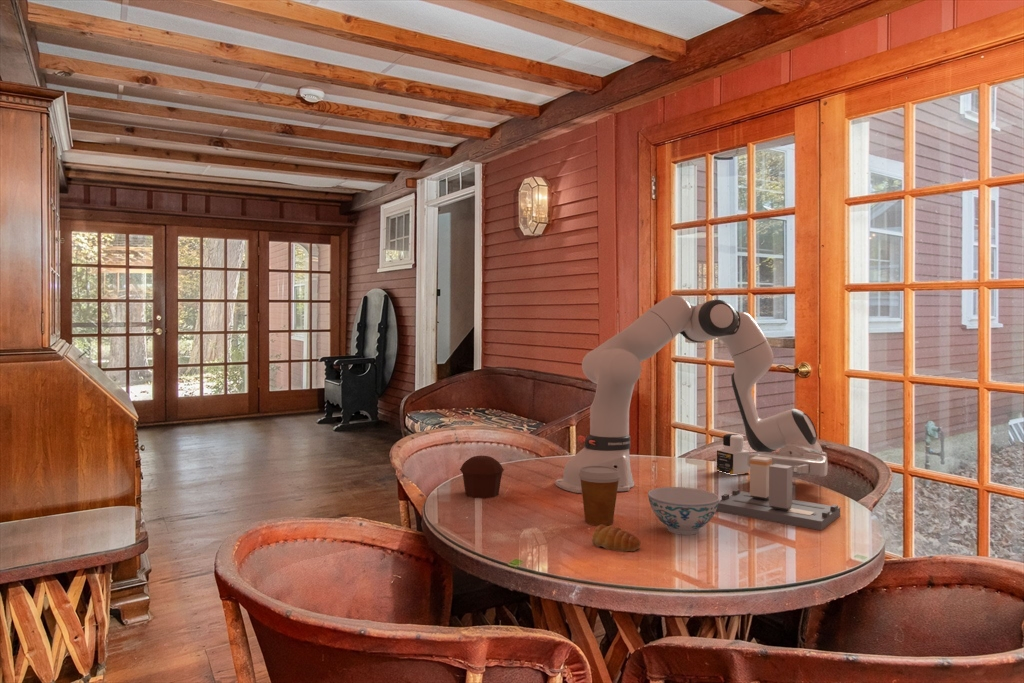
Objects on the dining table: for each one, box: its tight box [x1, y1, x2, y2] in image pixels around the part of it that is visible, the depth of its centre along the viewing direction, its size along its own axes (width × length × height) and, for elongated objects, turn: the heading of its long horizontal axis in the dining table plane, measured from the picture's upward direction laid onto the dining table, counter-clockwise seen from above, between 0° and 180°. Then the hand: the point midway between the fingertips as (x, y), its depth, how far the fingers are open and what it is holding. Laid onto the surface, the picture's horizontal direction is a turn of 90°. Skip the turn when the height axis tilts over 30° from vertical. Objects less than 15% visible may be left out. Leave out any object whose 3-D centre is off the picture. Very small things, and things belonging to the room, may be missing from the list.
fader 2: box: [769, 464, 793, 510], centre depth 150 cm, size 4×4×10 cm
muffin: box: [459, 455, 505, 499], centre depth 171 cm, size 12×11×10 cm
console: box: [716, 488, 841, 531], centre depth 155 cm, size 24×16×3 cm, turn 50°
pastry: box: [591, 524, 642, 553], centre depth 129 cm, size 9×7×4 cm
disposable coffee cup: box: [578, 466, 621, 527], centre depth 146 cm, size 10×10×12 cm
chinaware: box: [647, 486, 720, 536], centre depth 140 cm, size 15×15×8 cm
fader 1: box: [749, 456, 772, 500], centre depth 160 cm, size 4×4×10 cm
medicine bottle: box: [716, 433, 751, 474], centre depth 201 cm, size 7×7×12 cm
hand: (777, 467), depth 169 cm, fingers open, 8 cm apart
